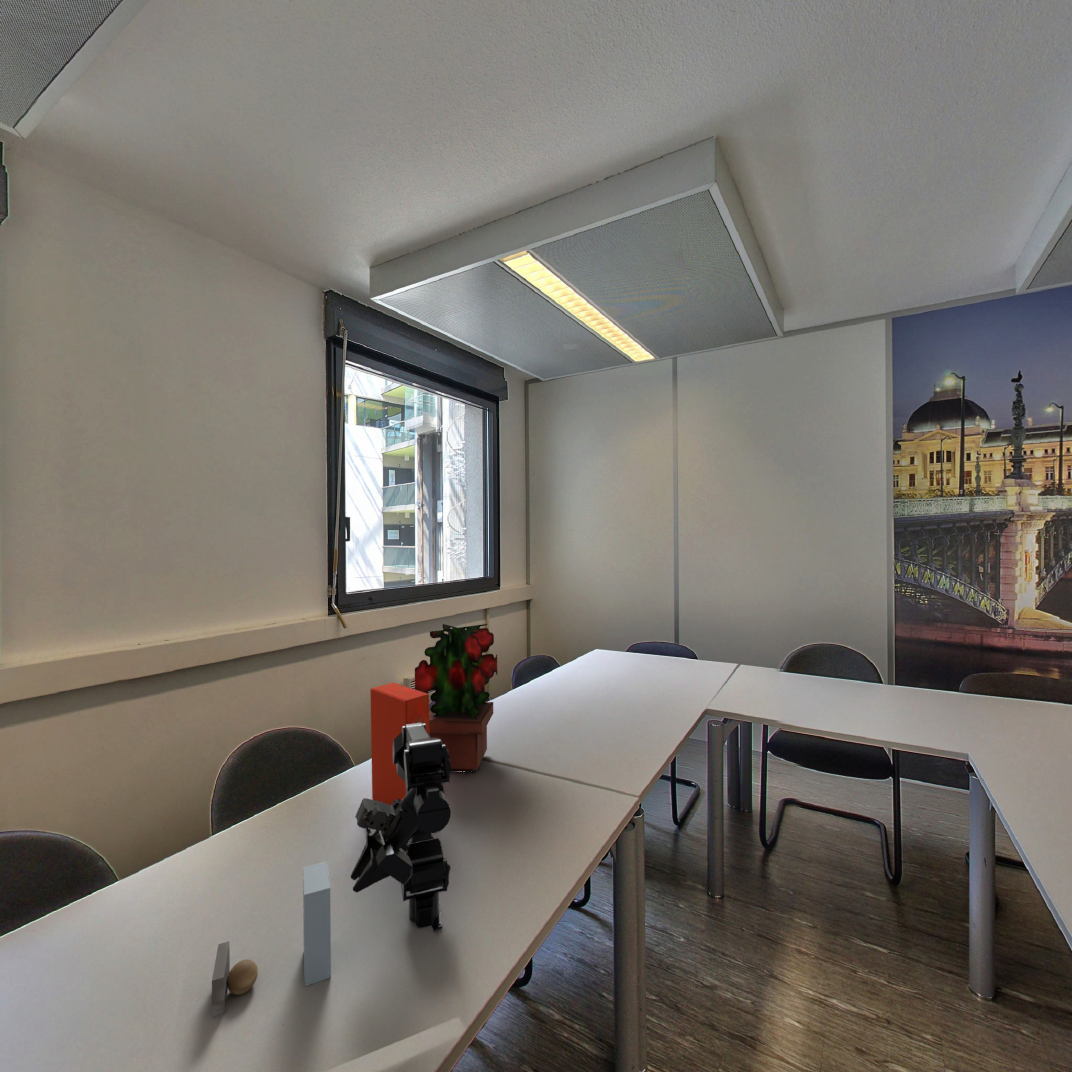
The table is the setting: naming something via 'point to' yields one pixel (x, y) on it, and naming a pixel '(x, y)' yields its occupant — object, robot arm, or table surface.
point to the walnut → (242, 977)
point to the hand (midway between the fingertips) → (353, 884)
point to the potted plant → (459, 692)
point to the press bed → (220, 979)
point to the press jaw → (316, 923)
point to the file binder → (392, 734)
